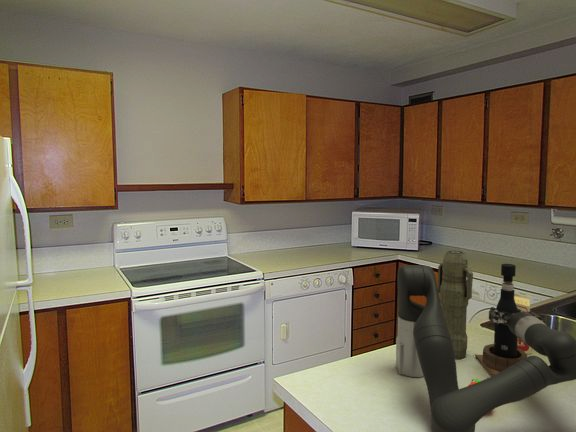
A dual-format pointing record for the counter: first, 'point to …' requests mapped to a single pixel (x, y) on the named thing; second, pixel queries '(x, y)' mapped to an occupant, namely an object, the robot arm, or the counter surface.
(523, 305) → the milk carton
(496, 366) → the bottle stand
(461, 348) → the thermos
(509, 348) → the wine bottle
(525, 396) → the robot arm
